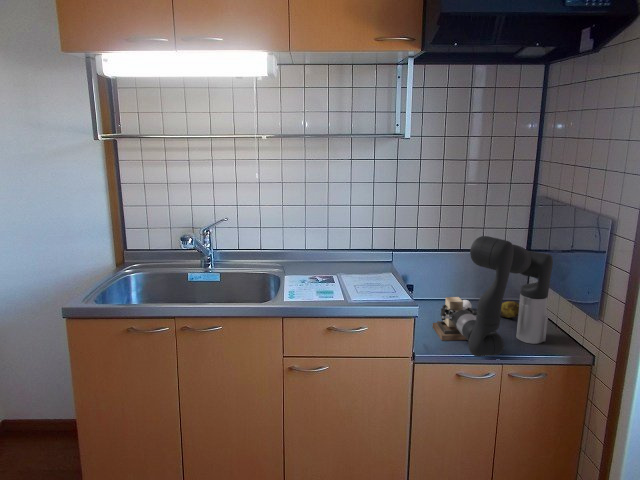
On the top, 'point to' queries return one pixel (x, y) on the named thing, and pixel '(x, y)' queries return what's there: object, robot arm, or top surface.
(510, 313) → the potato
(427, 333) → the top surface
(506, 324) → the top surface
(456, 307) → the maple pillar
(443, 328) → the walnut base
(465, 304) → the unicorn horn
